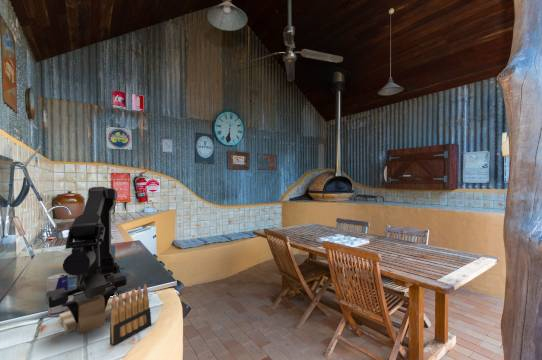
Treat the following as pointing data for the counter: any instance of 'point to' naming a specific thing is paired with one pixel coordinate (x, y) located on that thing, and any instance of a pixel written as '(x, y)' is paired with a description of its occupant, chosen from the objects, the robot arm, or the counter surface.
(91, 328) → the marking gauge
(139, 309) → the ammunition clip
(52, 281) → the energy drink
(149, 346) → the counter surface
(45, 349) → the counter surface
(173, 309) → the counter surface
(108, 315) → the maple board
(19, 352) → the counter surface
